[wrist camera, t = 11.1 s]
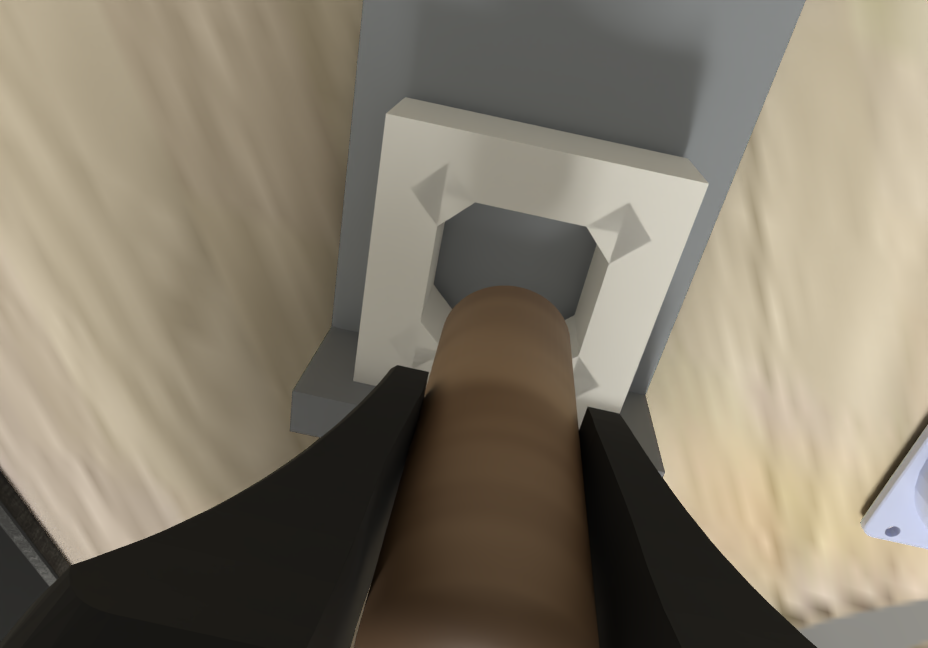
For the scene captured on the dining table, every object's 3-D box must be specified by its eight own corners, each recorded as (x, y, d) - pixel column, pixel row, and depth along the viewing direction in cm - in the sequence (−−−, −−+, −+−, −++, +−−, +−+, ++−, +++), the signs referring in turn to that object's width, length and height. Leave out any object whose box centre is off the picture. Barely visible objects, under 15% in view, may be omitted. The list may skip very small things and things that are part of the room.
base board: (859, -156, 15) (977, -207, 11) (629, 418, 23) (648, 509, 19) (394, -256, 15) (341, -345, 11) (333, 353, 23) (290, 430, 19)
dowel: (554, 408, 15) (569, 760, 8) (433, 385, 15) (346, 716, 8) (584, 299, 14) (631, 612, 7) (451, 274, 14) (364, 560, 7)
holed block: (687, 158, 17) (708, 183, 15) (603, 390, 21) (610, 437, 19) (405, 96, 17) (386, 113, 15) (372, 339, 21) (353, 380, 19)
